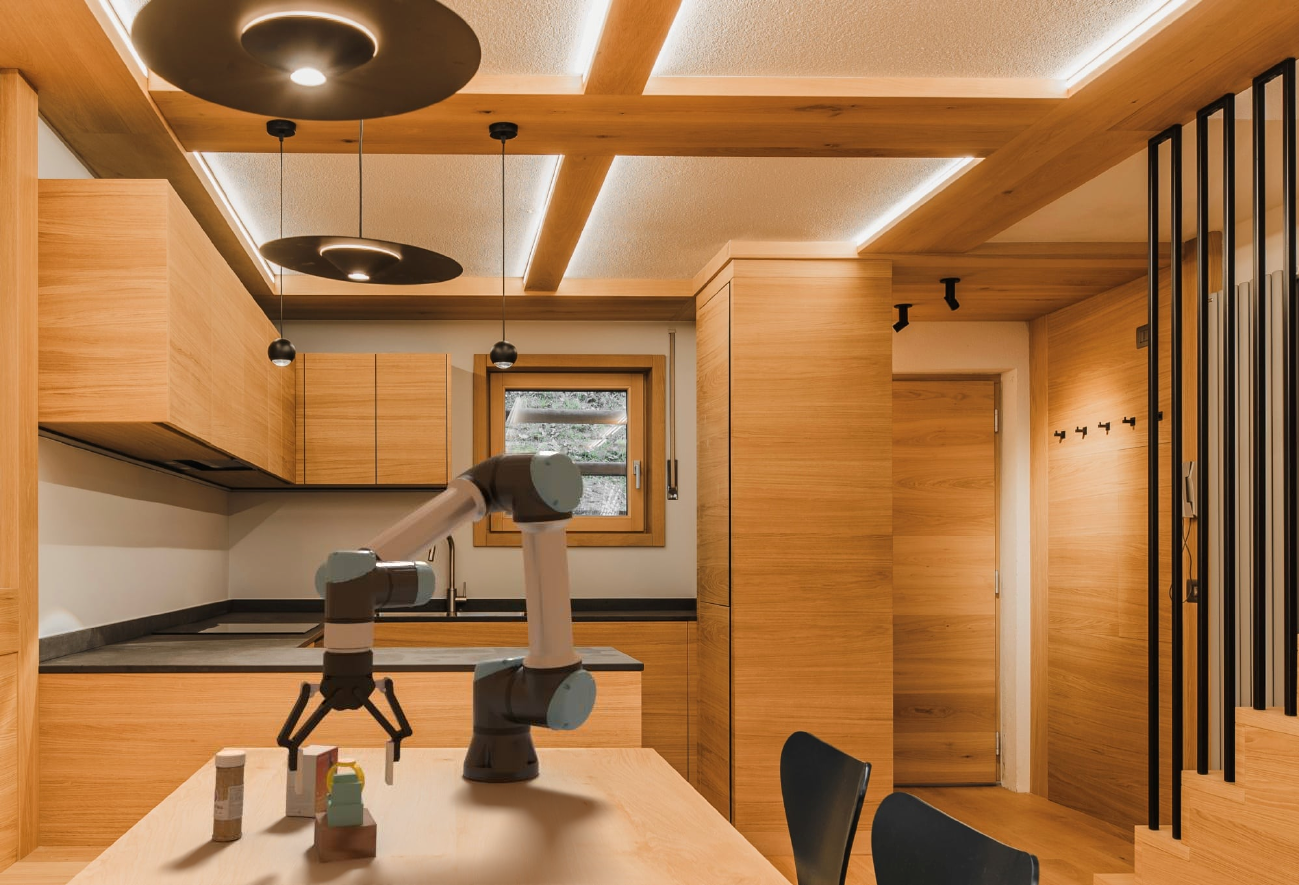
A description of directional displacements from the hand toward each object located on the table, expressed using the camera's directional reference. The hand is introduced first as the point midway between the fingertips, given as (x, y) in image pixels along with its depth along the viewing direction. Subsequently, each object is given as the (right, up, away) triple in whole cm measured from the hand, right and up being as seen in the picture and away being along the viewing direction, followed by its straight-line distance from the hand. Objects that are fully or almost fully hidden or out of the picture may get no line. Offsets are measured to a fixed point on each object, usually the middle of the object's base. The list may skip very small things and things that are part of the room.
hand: (344, 788), depth 158 cm
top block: (0, -5, -1) cm, 5 cm away
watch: (0, -2, 0) cm, 2 cm away
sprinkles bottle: (-20, -10, +4) cm, 23 cm away
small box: (-12, -11, +20) cm, 26 cm away
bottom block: (0, -10, -1) cm, 10 cm away
